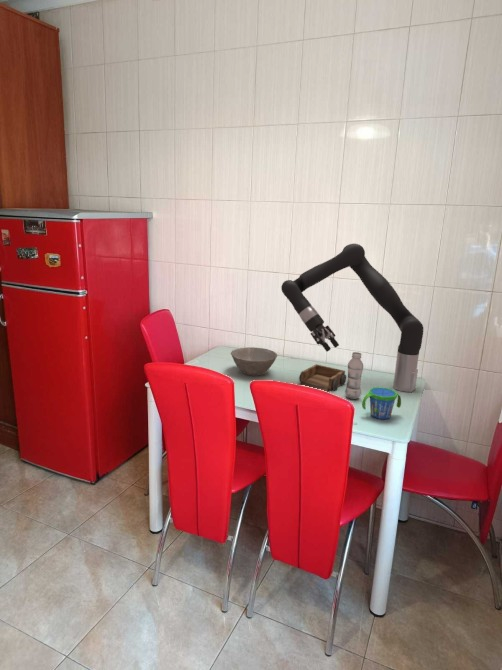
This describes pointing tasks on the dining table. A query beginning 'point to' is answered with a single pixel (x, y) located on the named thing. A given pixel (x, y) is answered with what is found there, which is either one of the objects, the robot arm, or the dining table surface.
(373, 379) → the dining table surface
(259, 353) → the ceramic bowl
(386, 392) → the snack cup
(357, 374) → the grey ridged cylindrical piece
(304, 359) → the dining table surface
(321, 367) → the tray
